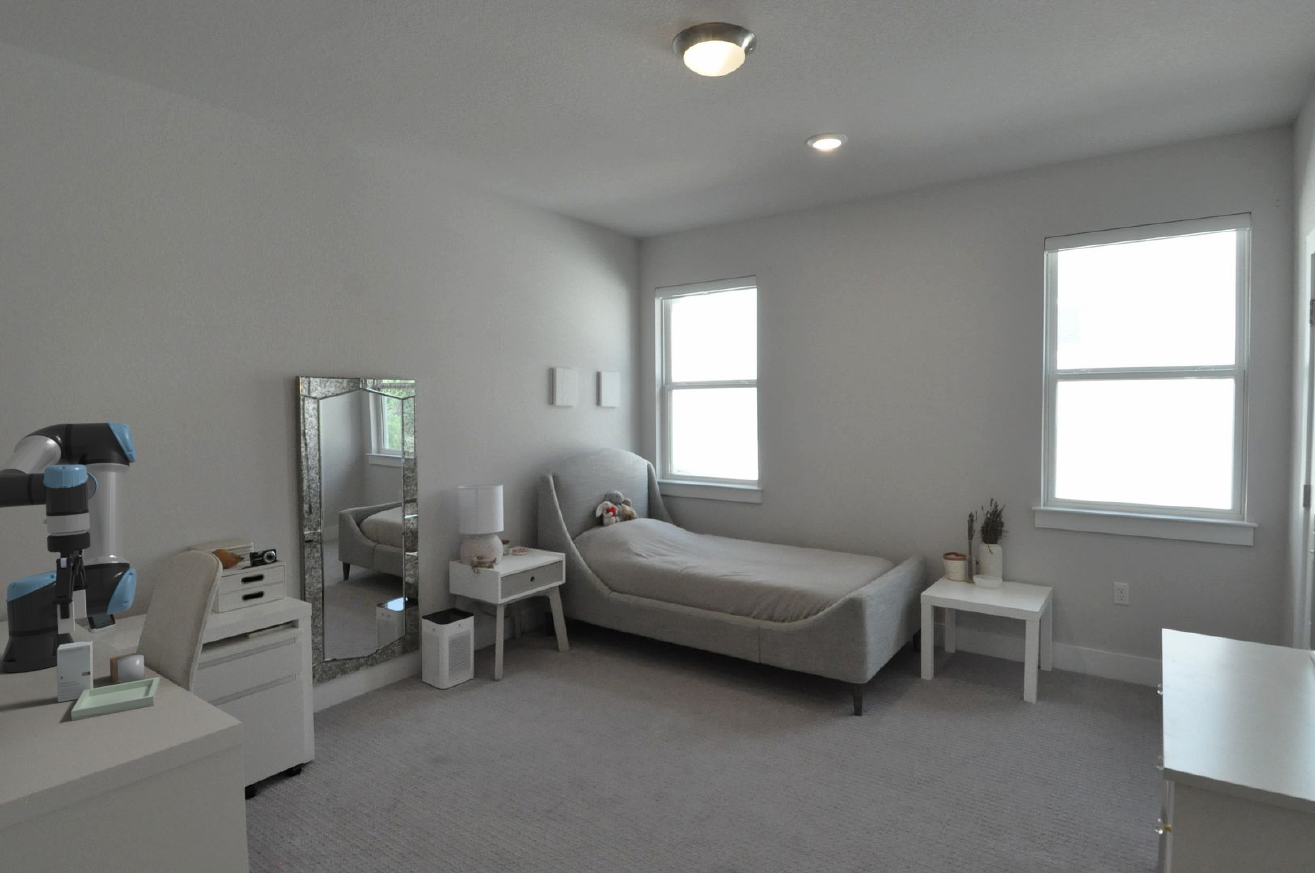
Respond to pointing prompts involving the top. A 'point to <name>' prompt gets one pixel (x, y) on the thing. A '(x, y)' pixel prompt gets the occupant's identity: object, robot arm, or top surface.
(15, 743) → the top surface
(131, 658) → the grey smooth rounded part
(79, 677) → the skincare box
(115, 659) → the walnut block
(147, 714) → the top surface
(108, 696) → the sage dish
